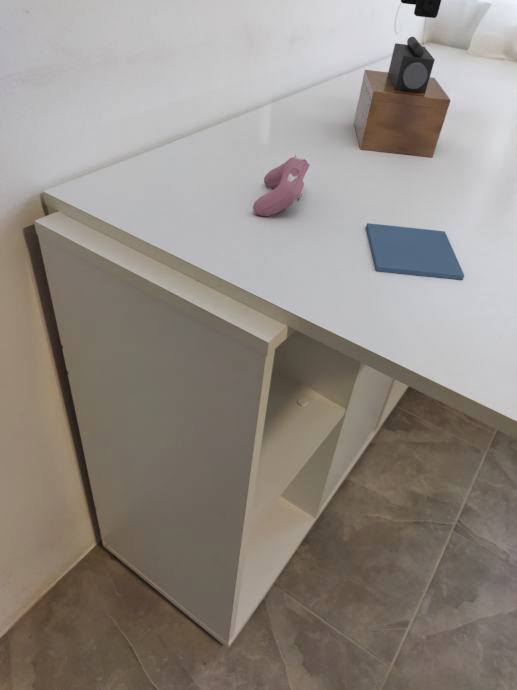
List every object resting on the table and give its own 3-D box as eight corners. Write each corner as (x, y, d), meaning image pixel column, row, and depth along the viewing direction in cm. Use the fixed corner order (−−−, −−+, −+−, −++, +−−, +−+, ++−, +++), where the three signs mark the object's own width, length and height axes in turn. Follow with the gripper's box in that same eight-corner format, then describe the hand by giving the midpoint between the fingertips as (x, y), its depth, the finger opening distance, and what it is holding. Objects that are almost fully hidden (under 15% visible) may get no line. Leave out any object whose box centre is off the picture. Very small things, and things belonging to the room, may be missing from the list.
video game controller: (278, 232, 68) (311, 190, 63) (248, 212, 67) (279, 168, 62) (289, 198, 75) (318, 158, 71) (262, 179, 74) (290, 138, 70)
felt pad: (443, 235, 68) (445, 231, 68) (462, 280, 61) (464, 275, 60) (365, 227, 68) (367, 222, 67) (375, 271, 60) (377, 266, 60)
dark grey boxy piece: (415, 77, 90) (426, 36, 86) (426, 95, 82) (438, 51, 78) (386, 74, 90) (396, 32, 86) (395, 91, 82) (406, 47, 78)
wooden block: (419, 131, 97) (434, 77, 91) (432, 157, 88) (450, 100, 82) (353, 123, 96) (364, 69, 90) (360, 149, 87) (373, 91, 81)
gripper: (508, -146, 61) (458, 25, 72) (466, -143, 74) (428, 2, 85) (444, -154, 61) (403, 19, 72) (412, -149, 74) (382, -3, 85)
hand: (417, 9), depth 79 cm, fingers open, 9 cm apart
